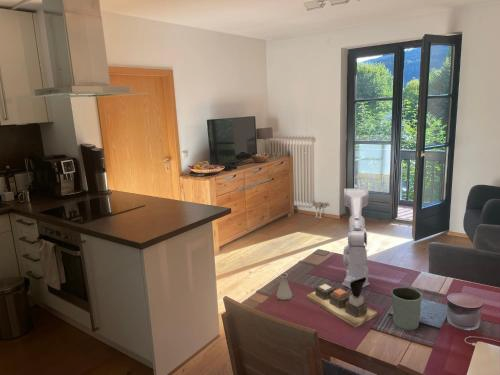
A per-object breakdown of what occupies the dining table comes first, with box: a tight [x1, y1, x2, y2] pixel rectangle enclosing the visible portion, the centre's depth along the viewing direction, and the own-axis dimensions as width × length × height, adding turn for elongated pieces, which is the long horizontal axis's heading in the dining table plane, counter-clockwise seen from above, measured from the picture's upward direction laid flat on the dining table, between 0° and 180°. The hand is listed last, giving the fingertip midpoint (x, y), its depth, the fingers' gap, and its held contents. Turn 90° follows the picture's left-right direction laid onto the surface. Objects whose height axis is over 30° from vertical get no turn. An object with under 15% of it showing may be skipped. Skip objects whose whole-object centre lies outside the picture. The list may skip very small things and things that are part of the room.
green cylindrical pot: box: [390, 286, 423, 331], centre depth 133 cm, size 10×10×12 cm
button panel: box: [305, 282, 378, 328], centre depth 146 cm, size 12×26×5 cm, turn 34°
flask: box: [275, 272, 294, 301], centre depth 155 cm, size 7×7×10 cm
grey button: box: [349, 294, 364, 307], centre depth 138 cm, size 4×4×3 cm
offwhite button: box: [319, 283, 332, 291], centre depth 152 cm, size 4×4×3 cm
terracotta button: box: [333, 288, 348, 299], centre depth 145 cm, size 4×4×3 cm
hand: (356, 295), depth 138 cm, fingers closed
